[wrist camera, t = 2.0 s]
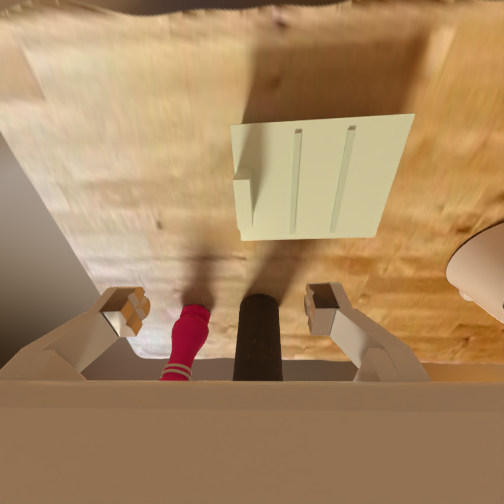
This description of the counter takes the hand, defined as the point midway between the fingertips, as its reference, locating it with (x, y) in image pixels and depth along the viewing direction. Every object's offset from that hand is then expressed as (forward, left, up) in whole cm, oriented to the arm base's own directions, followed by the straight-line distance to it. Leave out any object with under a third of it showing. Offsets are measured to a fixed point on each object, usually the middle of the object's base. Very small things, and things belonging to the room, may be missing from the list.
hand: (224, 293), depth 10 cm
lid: (-8, 0, -18) cm, 19 cm away
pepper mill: (+13, +29, -22) cm, 39 cm away
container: (-1, +27, -22) cm, 35 cm away
